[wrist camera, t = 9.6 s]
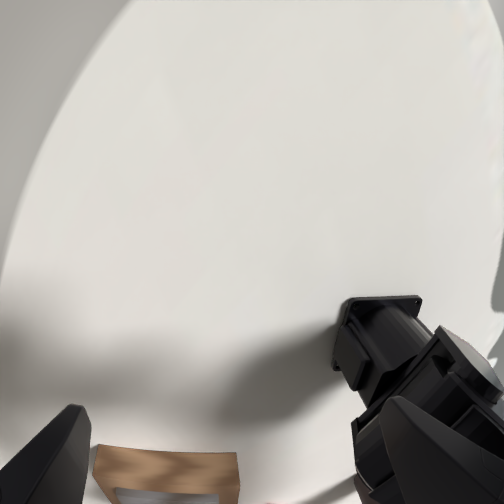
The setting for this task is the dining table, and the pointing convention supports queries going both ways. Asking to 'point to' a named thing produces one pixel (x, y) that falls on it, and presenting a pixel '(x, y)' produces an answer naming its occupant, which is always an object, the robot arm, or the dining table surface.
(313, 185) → the dining table surface
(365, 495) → the bottle
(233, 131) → the dining table surface
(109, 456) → the walnut base
